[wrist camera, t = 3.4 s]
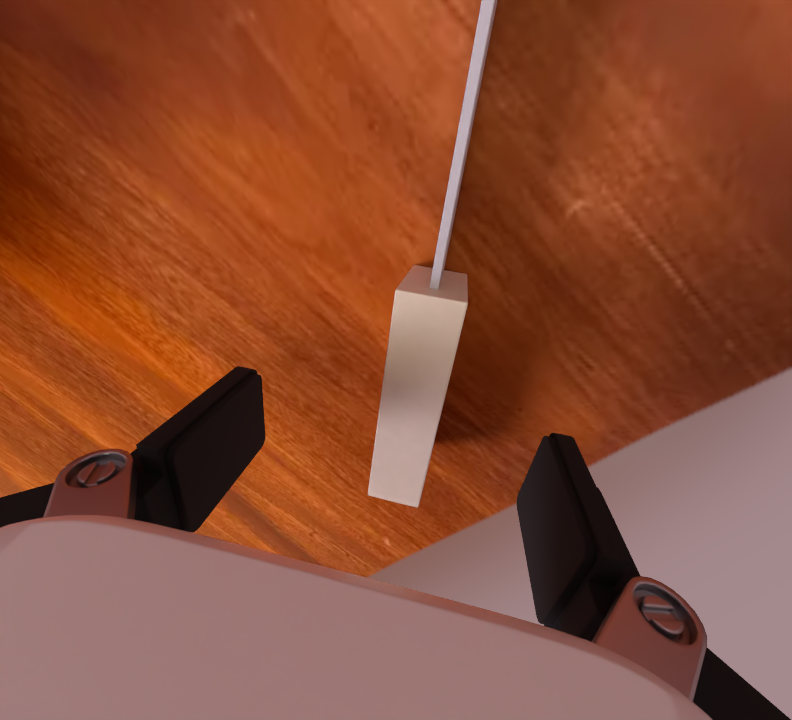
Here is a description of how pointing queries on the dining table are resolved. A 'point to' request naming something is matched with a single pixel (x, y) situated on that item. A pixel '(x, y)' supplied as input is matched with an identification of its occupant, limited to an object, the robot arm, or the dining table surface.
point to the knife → (426, 329)
